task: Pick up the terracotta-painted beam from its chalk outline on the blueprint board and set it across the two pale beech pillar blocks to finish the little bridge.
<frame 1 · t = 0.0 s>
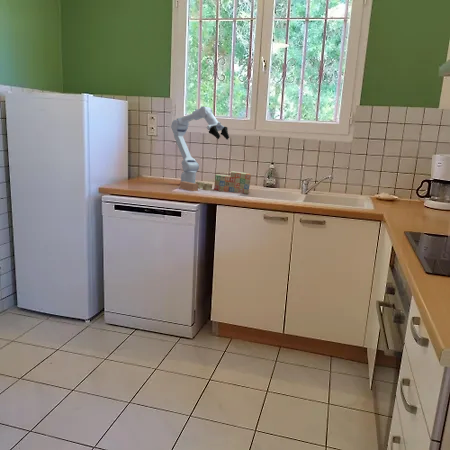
hand: (223, 138, 255), 32 cm above the worktop, tool tilted 50°, fingers open, 7 cm apart
pillar b: (207, 189, 264), point 1 cm above the worktop, touching blueprint board
beam: (188, 189, 258), point 1 cm above the worktop, touching blueprint board
stack of blocks: (231, 192, 265), on the worktop, touching blueprint board
blueprint board: (198, 190, 264), on the worktop
pillar a: (199, 187, 269), point 1 cm above the worktop, touching blueprint board
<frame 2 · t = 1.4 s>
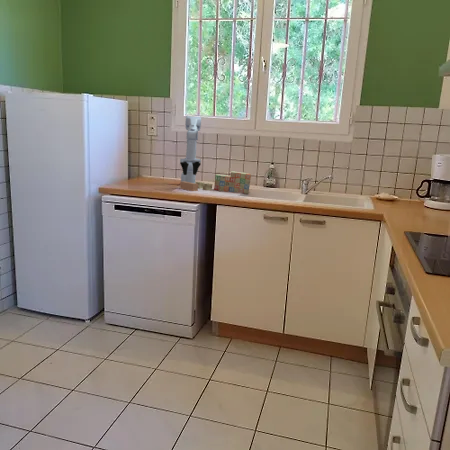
hand: (189, 174, 256), 9 cm above the worktop, tool pointing down, fingers open, 7 cm apart
nothing on the worktop moved.
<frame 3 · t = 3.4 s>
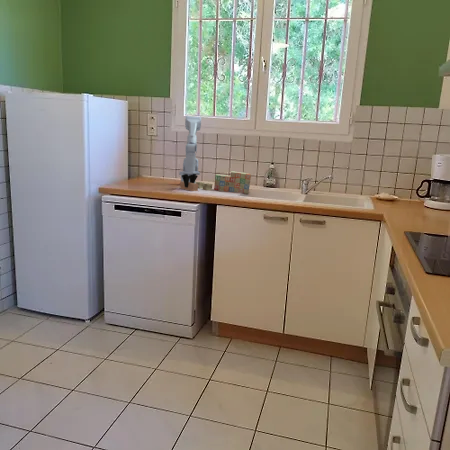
hand: (188, 187, 258), 2 cm above the worktop, tool pointing down, fingers closed on beam, 3 cm apart
beam: (188, 189, 258), point 1 cm above the worktop, touching blueprint board, gripper
everything else where it was.
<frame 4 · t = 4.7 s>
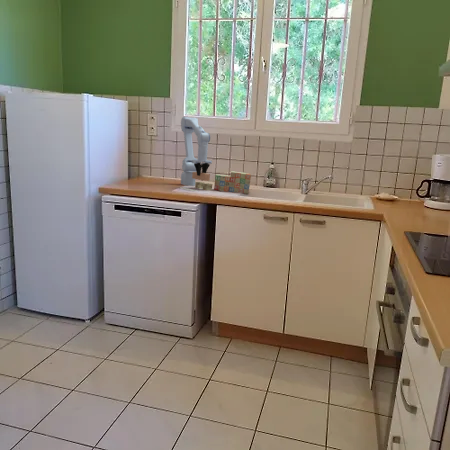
hand: (201, 175, 263), 9 cm above the worktop, tool pointing down, fingers closed on beam, 3 cm apart
beam: (200, 179, 264), point 6 cm above the worktop, touching gripper
everything else where it was.
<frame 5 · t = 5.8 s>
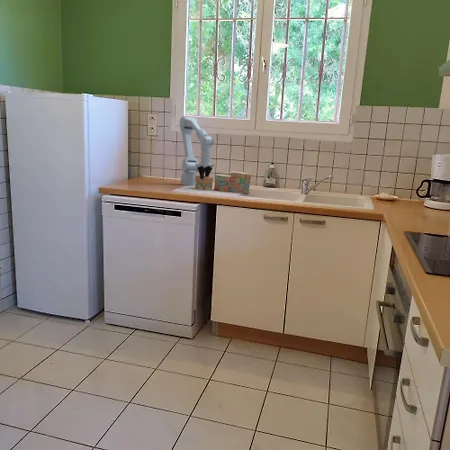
hand: (204, 178, 265), 7 cm above the worktop, tool pointing down, fingers closed on beam, 3 cm apart
beam: (203, 183, 266), point 4 cm above the worktop, touching gripper, pillar a
pillar a: (199, 187, 269), point 1 cm above the worktop, touching beam, blueprint board
everything else where it was.
when the fingers open (7 cm above the worktop, at t = 6.0 s): beam stays where it is, resting on pillar a, pillar b.
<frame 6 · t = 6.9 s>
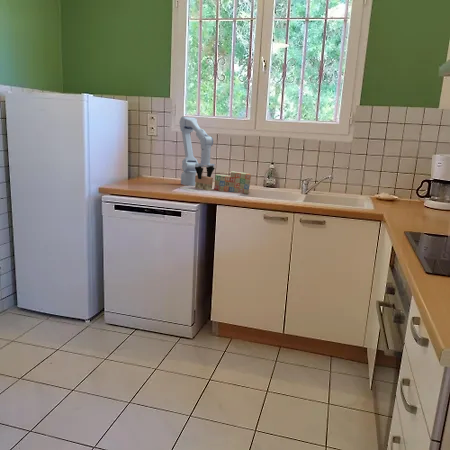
hand: (204, 178, 265), 7 cm above the worktop, tool pointing down, fingers open, 7 cm apart
pillar b: (207, 189, 264), point 1 cm above the worktop, touching beam, blueprint board
beam: (203, 183, 266), point 4 cm above the worktop, touching pillar a, pillar b
everything else where it was.
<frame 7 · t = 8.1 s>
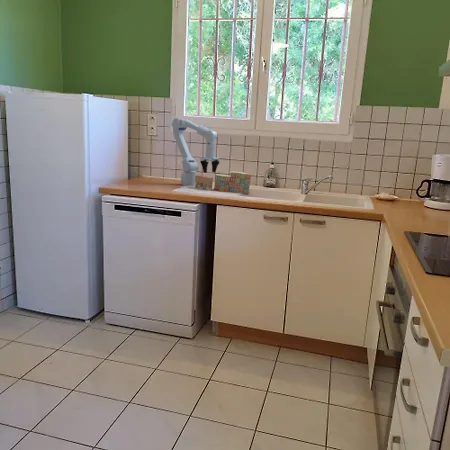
hand: (209, 172, 270), 10 cm above the worktop, tool pointing down, fingers open, 7 cm apart
nothing on the worktop moved.
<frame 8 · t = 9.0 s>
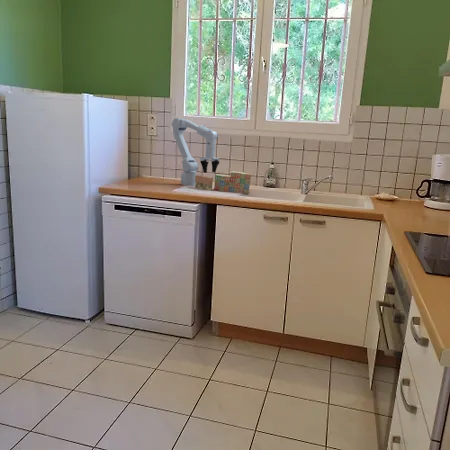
hand: (209, 172, 270), 10 cm above the worktop, tool pointing down, fingers open, 7 cm apart
nothing on the worktop moved.
at the end: beam 0.2 cm from the target spot, point 4.2 cm above the worktop; beam tilted 0°; the gripper is holding nothing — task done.
